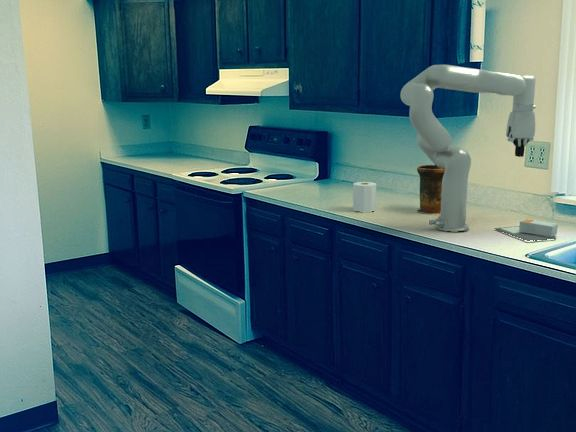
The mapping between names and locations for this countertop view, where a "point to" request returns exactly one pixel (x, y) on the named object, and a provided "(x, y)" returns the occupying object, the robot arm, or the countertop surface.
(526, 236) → the mat
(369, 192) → the toilet paper
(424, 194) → the vessel
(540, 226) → the skincare box
